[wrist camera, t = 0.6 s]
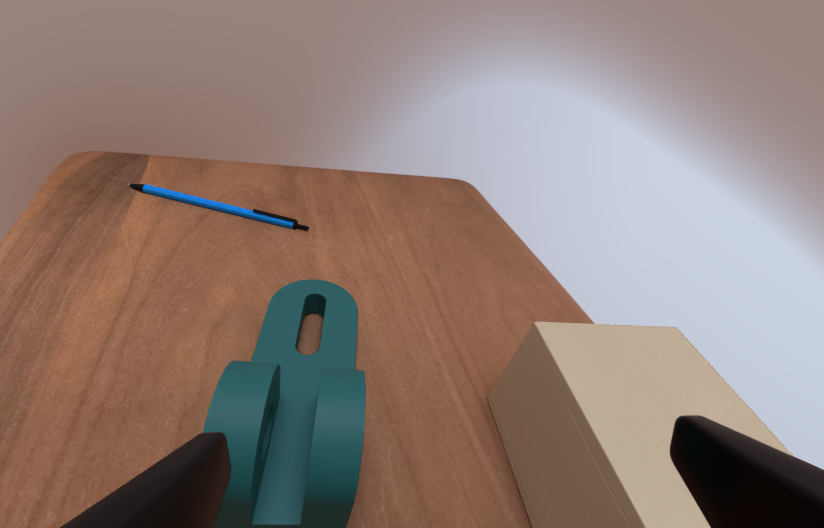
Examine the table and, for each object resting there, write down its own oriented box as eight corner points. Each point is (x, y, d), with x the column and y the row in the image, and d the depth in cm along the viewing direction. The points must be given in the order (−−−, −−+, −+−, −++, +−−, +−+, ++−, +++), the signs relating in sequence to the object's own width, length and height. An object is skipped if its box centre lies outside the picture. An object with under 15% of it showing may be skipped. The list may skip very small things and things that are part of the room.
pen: (306, 234, 41) (307, 225, 41) (126, 190, 40) (124, 180, 39) (309, 229, 42) (309, 221, 41) (132, 186, 41) (130, 176, 40)
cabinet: (742, 605, 23) (887, 558, 17) (572, 644, 19) (685, 600, 14) (611, 395, 33) (676, 326, 28) (486, 398, 30) (533, 321, 25)
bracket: (341, 539, 21) (363, 474, 16) (205, 541, 19) (185, 470, 15) (355, 303, 35) (369, 231, 30) (277, 294, 33) (279, 218, 29)
